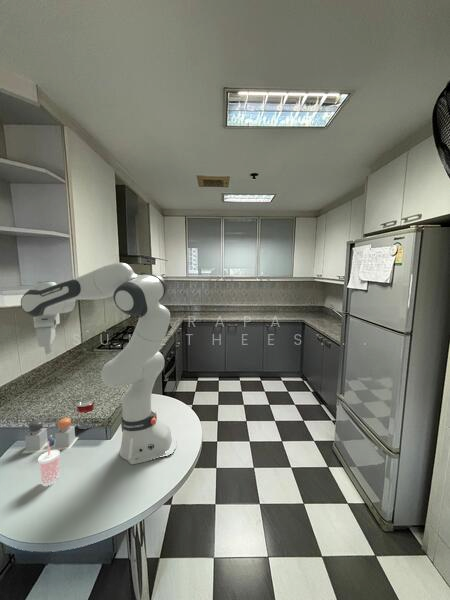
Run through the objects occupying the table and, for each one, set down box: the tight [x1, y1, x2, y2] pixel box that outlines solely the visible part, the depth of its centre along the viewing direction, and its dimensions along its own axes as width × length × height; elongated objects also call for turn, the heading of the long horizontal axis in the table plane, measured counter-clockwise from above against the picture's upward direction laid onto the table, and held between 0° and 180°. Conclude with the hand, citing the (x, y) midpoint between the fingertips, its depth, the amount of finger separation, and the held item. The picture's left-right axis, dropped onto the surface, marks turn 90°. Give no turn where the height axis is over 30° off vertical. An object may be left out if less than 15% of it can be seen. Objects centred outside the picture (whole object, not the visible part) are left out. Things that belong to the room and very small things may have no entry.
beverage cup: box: [37, 441, 61, 487], centre depth 84 cm, size 6×6×14 cm
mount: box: [20, 425, 80, 455], centre depth 102 cm, size 18×8×7 cm, turn 98°
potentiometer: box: [47, 434, 55, 447], centre depth 102 cm, size 2×2×4 cm
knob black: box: [28, 419, 44, 435], centre depth 101 cm, size 5×5×9 cm
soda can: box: [76, 399, 95, 414], centre depth 116 cm, size 7×7×12 cm
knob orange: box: [57, 417, 72, 432], centre depth 103 cm, size 5×5×9 cm
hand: (48, 353), depth 104 cm, fingers closed
